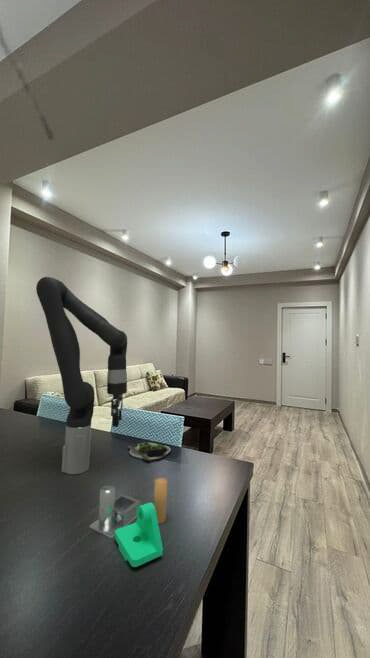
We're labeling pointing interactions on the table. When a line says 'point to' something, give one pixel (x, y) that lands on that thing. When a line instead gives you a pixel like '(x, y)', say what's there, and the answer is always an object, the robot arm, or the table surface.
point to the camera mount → (141, 537)
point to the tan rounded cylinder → (160, 499)
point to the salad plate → (149, 451)
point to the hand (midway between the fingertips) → (117, 423)
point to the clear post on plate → (114, 511)
